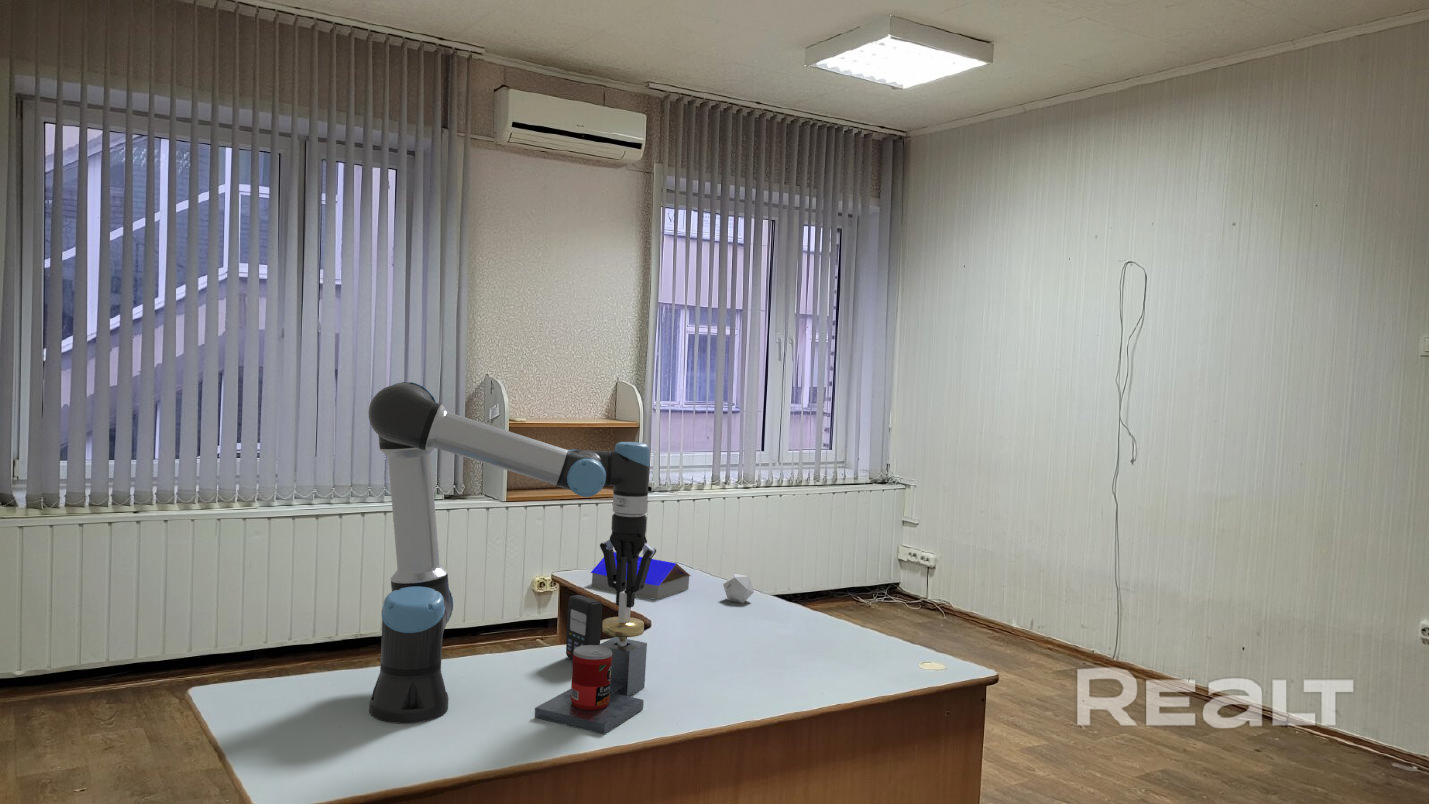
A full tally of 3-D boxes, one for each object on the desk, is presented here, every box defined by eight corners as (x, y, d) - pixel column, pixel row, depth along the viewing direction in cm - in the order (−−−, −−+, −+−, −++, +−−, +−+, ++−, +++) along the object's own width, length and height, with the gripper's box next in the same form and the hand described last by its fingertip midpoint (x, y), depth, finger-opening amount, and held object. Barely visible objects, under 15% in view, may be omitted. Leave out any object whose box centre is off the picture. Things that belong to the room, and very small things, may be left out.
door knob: (592, 669, 220) (594, 623, 220) (613, 658, 229) (615, 614, 228) (629, 676, 217) (631, 630, 216) (648, 665, 225) (651, 621, 224)
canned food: (602, 712, 203) (605, 658, 202) (564, 707, 204) (567, 653, 204) (614, 700, 210) (617, 647, 210) (577, 695, 212) (580, 643, 211)
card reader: (562, 657, 243) (566, 595, 242) (576, 654, 245) (579, 593, 245) (586, 667, 236) (589, 604, 235) (600, 664, 239) (603, 601, 238)
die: (724, 598, 312) (716, 576, 306) (748, 584, 314) (740, 562, 308) (736, 614, 305) (728, 592, 300) (760, 599, 307) (753, 578, 302)
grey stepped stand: (534, 717, 203) (537, 668, 203) (604, 679, 229) (607, 635, 228) (604, 734, 197) (607, 683, 196) (668, 692, 223) (671, 647, 222)
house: (623, 577, 330) (625, 546, 330) (690, 590, 318) (692, 558, 318) (589, 587, 314) (591, 555, 314) (658, 601, 302) (660, 568, 301)
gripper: (594, 512, 220) (589, 620, 221) (648, 519, 215) (642, 630, 216) (611, 508, 227) (606, 612, 228) (664, 515, 222) (658, 622, 223)
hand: (624, 621), depth 222 cm, fingers closed
